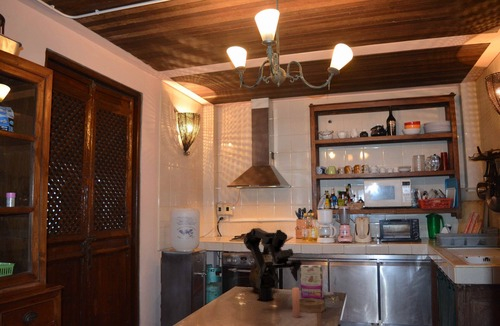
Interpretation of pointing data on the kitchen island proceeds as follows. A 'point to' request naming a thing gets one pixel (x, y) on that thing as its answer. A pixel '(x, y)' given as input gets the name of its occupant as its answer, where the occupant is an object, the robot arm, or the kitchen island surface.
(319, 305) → the wooden bowl
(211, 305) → the kitchen island surface
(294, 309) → the dowel
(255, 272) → the ceramic jug
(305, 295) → the candy bar box
